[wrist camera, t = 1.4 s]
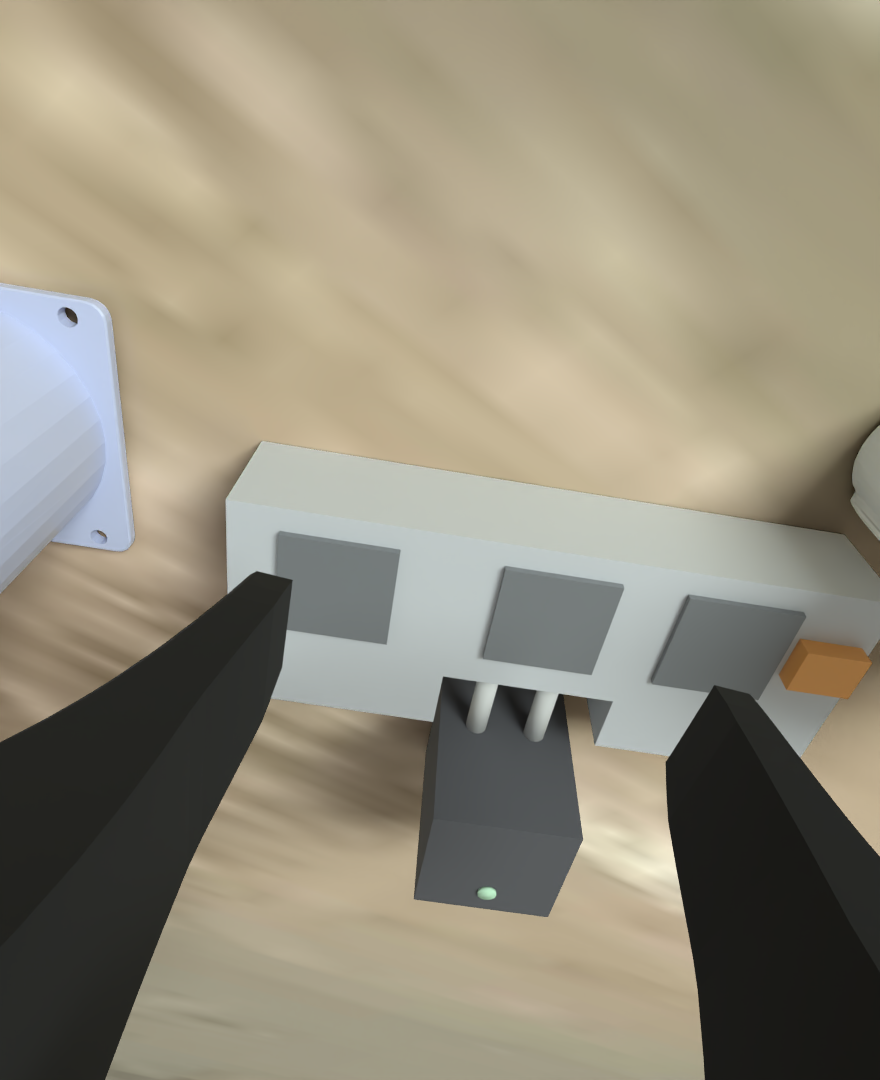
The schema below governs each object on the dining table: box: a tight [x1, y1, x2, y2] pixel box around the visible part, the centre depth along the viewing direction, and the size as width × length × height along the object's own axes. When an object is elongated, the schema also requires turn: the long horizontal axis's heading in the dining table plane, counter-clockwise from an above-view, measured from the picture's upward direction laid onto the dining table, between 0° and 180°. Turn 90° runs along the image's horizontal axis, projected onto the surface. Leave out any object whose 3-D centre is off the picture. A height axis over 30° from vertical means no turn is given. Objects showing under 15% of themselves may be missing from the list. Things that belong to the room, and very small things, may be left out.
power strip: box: [226, 441, 880, 757], centre depth 21 cm, size 18×7×4 cm, turn 81°
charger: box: [414, 676, 583, 917], centre depth 23 cm, size 4×7×6 cm, turn 171°
